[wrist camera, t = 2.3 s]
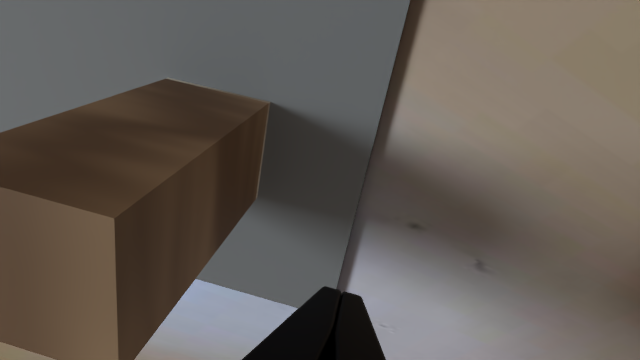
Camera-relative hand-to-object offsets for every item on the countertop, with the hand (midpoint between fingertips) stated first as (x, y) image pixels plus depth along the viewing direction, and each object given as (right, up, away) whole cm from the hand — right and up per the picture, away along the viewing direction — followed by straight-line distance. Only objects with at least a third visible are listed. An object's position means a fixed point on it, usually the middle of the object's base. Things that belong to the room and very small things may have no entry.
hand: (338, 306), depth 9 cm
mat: (-7, +5, +8) cm, 12 cm away
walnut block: (-4, +4, +7) cm, 10 cm away
